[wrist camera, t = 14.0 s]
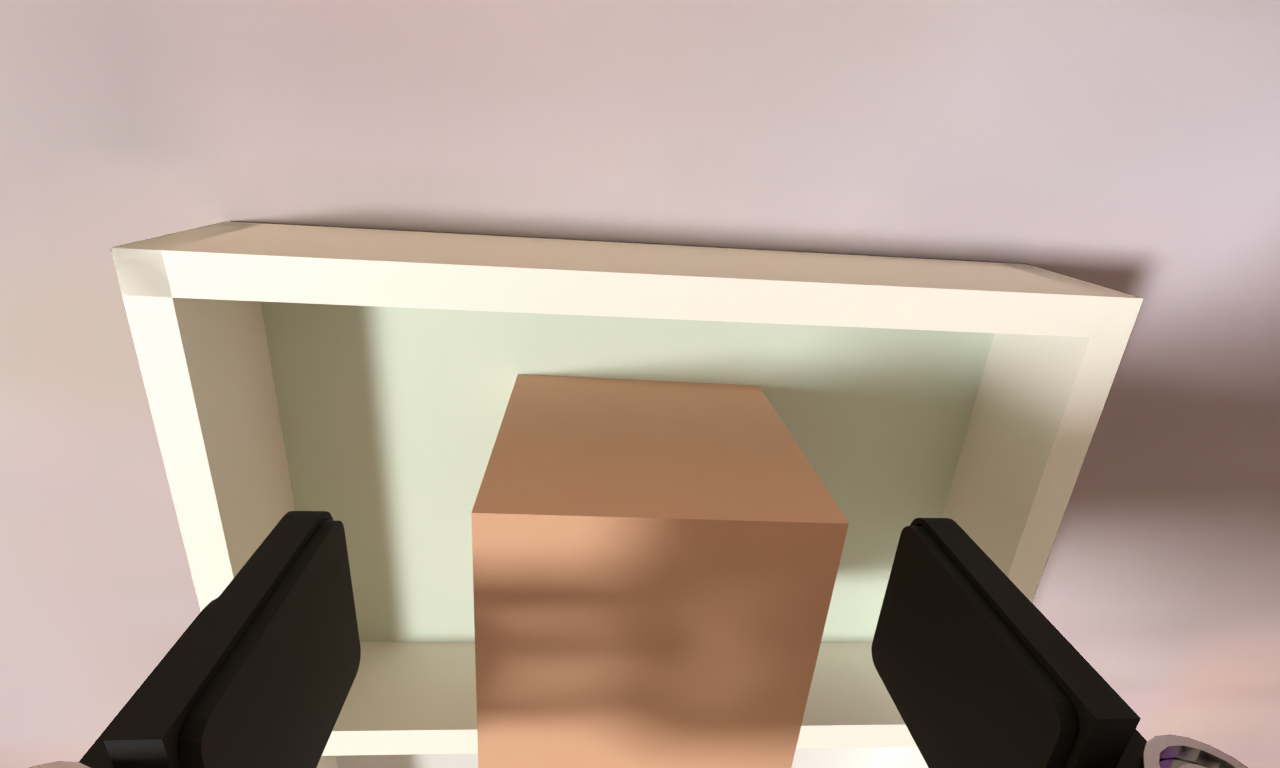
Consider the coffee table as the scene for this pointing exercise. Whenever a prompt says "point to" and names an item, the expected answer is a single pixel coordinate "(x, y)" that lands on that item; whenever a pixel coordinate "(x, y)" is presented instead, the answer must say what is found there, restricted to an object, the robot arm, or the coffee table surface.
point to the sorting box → (596, 348)
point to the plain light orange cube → (647, 578)
